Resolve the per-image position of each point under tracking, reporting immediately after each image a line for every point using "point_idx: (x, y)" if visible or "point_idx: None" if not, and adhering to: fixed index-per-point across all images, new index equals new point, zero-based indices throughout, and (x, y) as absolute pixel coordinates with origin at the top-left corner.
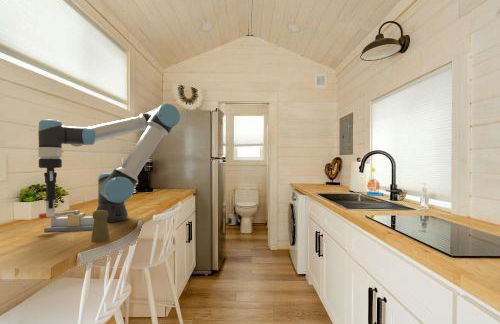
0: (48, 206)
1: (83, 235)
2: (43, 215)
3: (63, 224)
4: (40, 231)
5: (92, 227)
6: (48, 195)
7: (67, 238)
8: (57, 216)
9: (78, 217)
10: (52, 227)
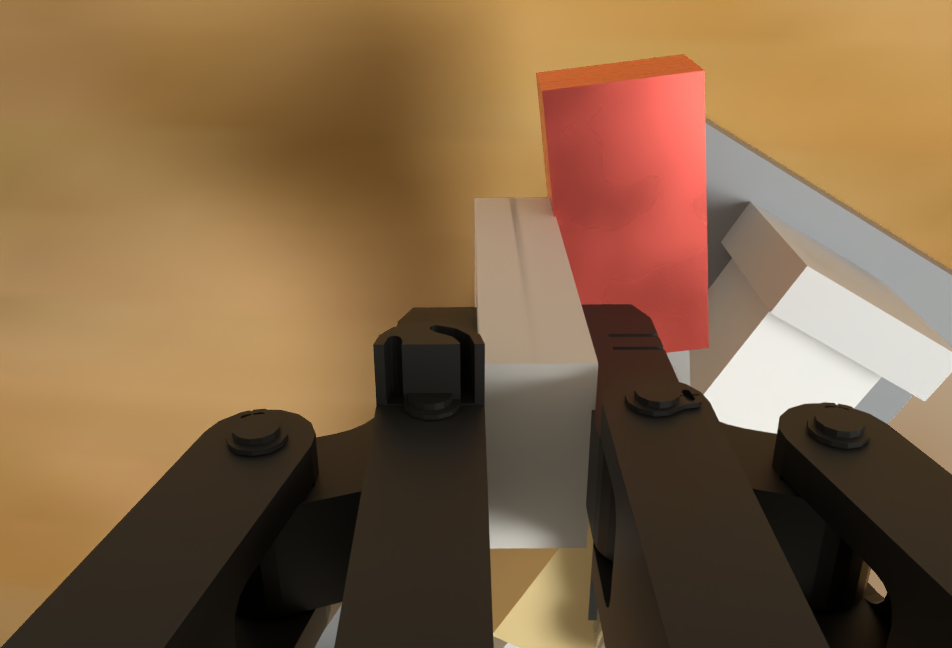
0: (474, 329)
1: (98, 486)
2: (548, 157)
3: None
4: (750, 43)
5: (328, 619)
6: (147, 531)
7: (29, 328)
8: (856, 356)
9: (498, 598)
10: None
